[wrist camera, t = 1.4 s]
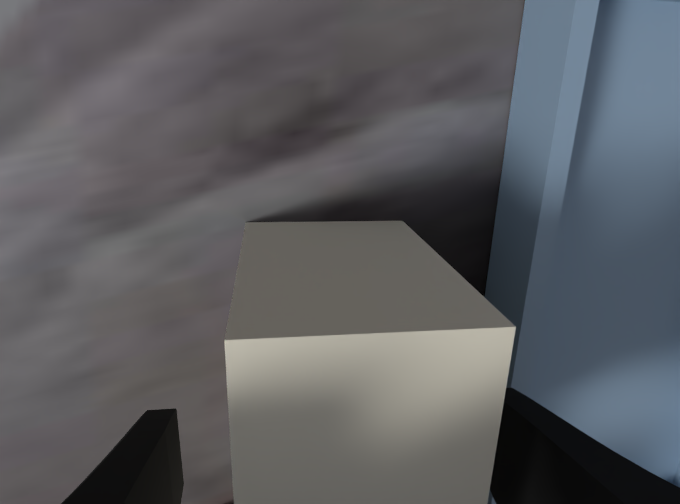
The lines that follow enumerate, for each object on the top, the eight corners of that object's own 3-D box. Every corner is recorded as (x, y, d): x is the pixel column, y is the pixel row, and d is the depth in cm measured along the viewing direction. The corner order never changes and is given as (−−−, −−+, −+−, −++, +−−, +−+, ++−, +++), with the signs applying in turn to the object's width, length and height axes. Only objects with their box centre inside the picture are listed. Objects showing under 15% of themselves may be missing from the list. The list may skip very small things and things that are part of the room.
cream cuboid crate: (257, 574, 15) (251, 850, 10) (243, 221, 12) (220, 340, 6) (379, 559, 16) (438, 813, 10) (403, 219, 12) (518, 326, 7)
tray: (456, 504, 15) (481, 559, 14) (528, -28, 11) (584, -55, 9) (670, 482, 17) (721, 531, 15) (824, -6, 12) (930, -26, 10)
